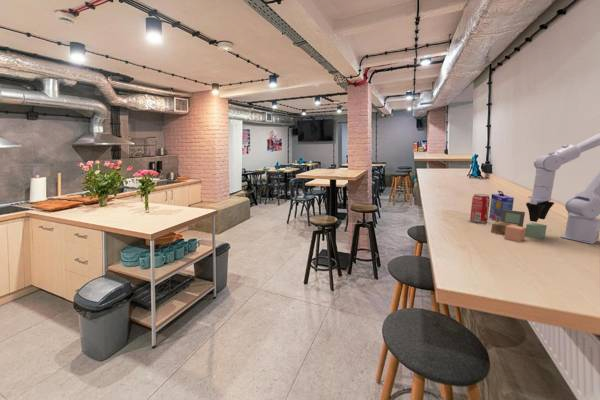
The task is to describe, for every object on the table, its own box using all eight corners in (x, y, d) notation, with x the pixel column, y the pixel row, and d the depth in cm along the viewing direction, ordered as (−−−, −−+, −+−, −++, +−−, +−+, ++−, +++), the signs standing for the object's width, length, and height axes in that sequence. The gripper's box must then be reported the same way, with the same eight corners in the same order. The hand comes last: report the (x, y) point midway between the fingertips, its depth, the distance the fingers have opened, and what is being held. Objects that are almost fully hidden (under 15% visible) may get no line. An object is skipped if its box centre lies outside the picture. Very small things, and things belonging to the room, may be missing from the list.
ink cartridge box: (487, 217, 148) (491, 189, 145) (499, 217, 147) (503, 189, 145) (498, 222, 138) (503, 192, 135) (511, 222, 138) (515, 192, 135)
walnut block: (516, 234, 121) (518, 224, 120) (510, 236, 117) (511, 227, 116) (498, 230, 127) (499, 221, 126) (490, 232, 123) (492, 223, 122)
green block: (544, 237, 116) (546, 225, 116) (539, 239, 114) (541, 227, 113) (529, 234, 121) (531, 222, 120) (524, 236, 118) (526, 224, 117)
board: (500, 224, 134) (503, 208, 133) (522, 227, 129) (525, 211, 128) (499, 226, 131) (502, 210, 129) (522, 230, 126) (524, 213, 124)
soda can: (487, 224, 135) (491, 196, 132) (469, 222, 138) (472, 195, 136) (487, 221, 141) (490, 194, 138) (469, 218, 144) (473, 193, 142)
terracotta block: (524, 240, 113) (526, 227, 112) (518, 242, 110) (520, 229, 109) (509, 236, 117) (511, 224, 116) (504, 238, 114) (505, 226, 113)
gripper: (537, 183, 121) (532, 215, 123) (523, 186, 113) (517, 220, 115) (559, 186, 115) (553, 219, 117) (545, 188, 107) (539, 224, 109)
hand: (537, 220), depth 116 cm, fingers open, 7 cm apart
